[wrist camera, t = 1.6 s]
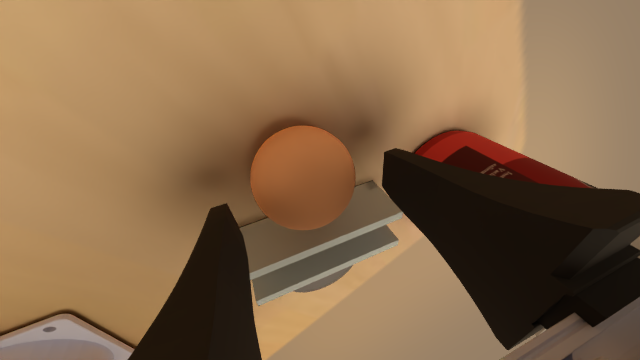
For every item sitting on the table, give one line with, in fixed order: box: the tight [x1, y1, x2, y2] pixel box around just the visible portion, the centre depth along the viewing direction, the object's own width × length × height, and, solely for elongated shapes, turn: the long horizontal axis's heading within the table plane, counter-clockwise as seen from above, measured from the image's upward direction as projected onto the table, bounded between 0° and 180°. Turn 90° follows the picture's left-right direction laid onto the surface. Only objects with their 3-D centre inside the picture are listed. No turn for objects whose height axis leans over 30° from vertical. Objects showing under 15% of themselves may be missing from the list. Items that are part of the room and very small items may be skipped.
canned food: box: [414, 131, 640, 336], centre depth 15 cm, size 8×8×11 cm
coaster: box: [294, 265, 353, 292], centre depth 20 cm, size 7×7×1 cm
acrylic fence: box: [239, 181, 403, 306], centre depth 16 cm, size 10×3×4 cm, turn 98°
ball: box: [250, 126, 355, 230], centre depth 11 cm, size 5×5×5 cm
